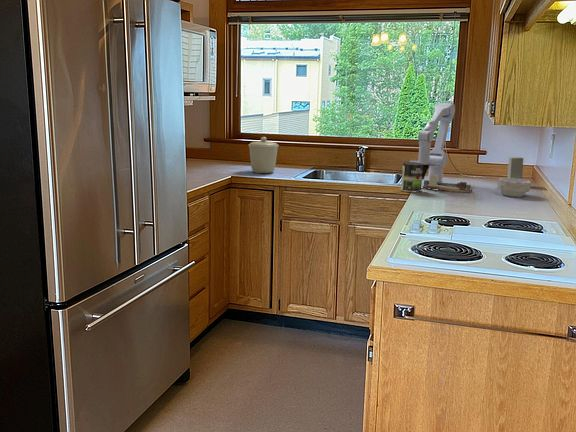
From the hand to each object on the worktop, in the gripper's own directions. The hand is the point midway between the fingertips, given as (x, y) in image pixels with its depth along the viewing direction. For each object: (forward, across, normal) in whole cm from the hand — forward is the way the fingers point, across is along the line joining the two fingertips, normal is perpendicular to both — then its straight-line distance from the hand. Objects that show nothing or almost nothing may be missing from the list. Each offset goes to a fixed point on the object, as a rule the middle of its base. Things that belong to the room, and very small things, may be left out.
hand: (422, 179), depth 292 cm
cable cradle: (+4, +13, 0) cm, 14 cm away
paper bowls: (+4, +45, +4) cm, 45 cm away
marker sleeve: (+3, +6, 0) cm, 7 cm away
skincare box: (+4, +42, +36) cm, 56 cm away
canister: (+4, -93, -8) cm, 93 cm away
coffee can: (+4, -2, -14) cm, 15 cm away
